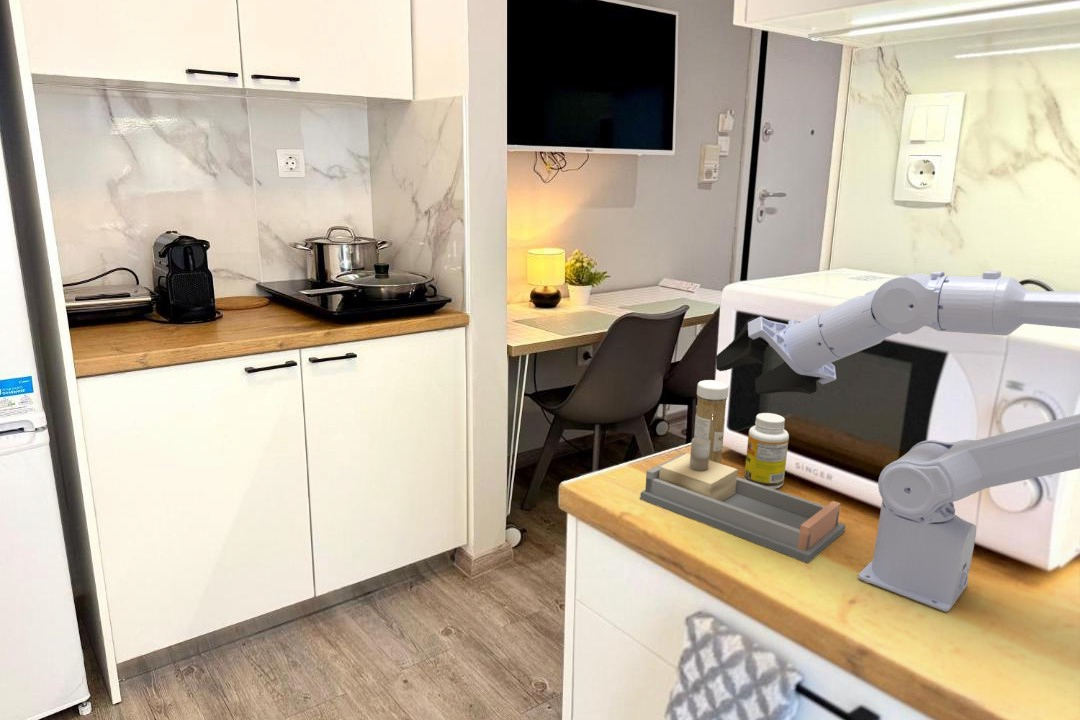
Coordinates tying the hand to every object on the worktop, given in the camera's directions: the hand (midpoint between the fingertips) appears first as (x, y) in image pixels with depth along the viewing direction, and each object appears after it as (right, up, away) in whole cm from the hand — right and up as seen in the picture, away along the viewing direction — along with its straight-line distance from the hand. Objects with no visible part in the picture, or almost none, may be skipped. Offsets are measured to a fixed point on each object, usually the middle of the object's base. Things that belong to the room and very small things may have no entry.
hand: (737, 375), depth 96 cm
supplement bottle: (+7, -16, +15) cm, 23 cm away
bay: (+1, -19, +4) cm, 19 cm away
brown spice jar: (0, -15, +20) cm, 25 cm away
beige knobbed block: (-3, -16, +8) cm, 19 cm away
